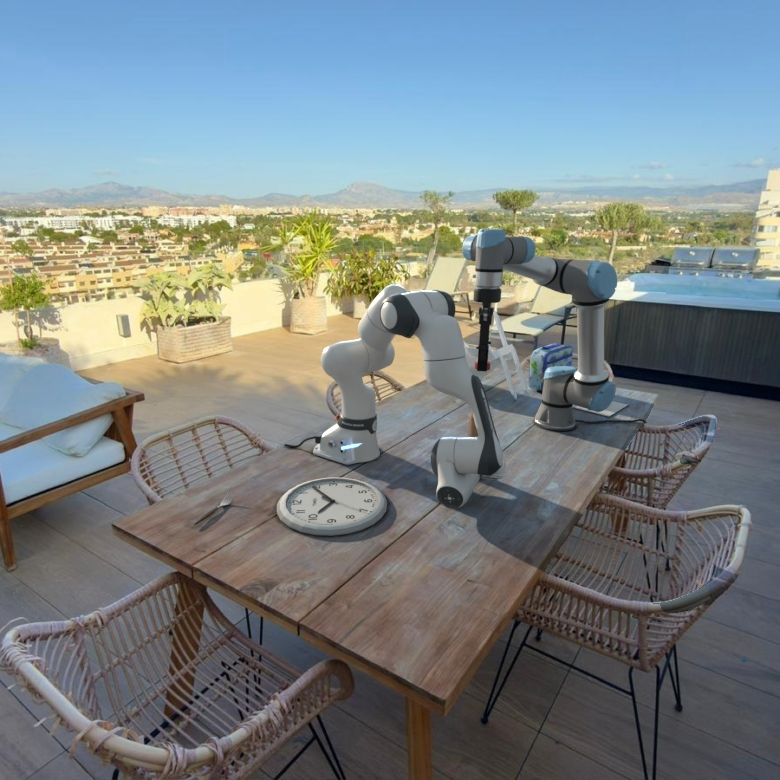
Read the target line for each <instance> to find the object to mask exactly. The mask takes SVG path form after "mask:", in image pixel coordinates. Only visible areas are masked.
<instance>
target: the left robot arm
mask: <svg viewBox="0 0 780 780" xmlns="http://www.w3.org/2000/svg"><path fill="white" fill-rule="evenodd" d="M455 303H456V302H455V300H454V298H453V297H452V295H451V294H450V293H448V292H447V291H444V290H439V289H432V290H427V289H426V290H425V289H424V290H422V289H421V290H414V291H409V290H408V289H407V288H405V287H403V286H402V285H399V284H389V285H386V286H385V287H384V288H383V289H381V291H380V292H379V293H378V294H377V295H376V297H375V298H374V299H373V300H372V301H371V303H370V304H369V306H368V307H367V309H366V311H365V312H364V314H363V315H362V317H361V319H360V321H359V322H358V325H357V332H358V336H359V338H356V339H351V340H343V341H338V342H335V343H332V344H330V345H327V346H325V347H324V348H323V350H322V352H321V355H320V364H321V368H322V370H323V372H324V373H325V374H326V375H327V376H329V377H330V378H332V379H333V381H335V383H336V384H337V386H338V388H339V392H340V398H341V399H340V400H341V401H340V402H341V410H340V412H339V413H337V415H336V416H335V417H334V421H337V422H336V423H334V424H333V425H331V426H330V427H328V428H327V429H326V430H325V431H324V430H323V431H322V430H320V431H318V432H317V434H316V435H313V436H309V437H306V438H304V439H303V440H302V441H301V442H299V444H296V445H293V444H287V443H284V447H288V448H293V449H294V448H295V449H296V448H300V447H301V446H302V445H303V444H304V443H305V442H308V441H310V440H315V441H314V443H315V444H316V445H315V446H314V447H313V450H312V453H313V456H316V457H317V456H318V457H321V458H324V459H327V460H331V461H333V462H337V463H339V464H343V465H347V466H349V465H354V464H357V463H359V464H360V463H367V462H371V461H374V460H376V459H378V458H379V457H380V455H381V451H380V448H379V444H378V436H377V430H378V414H377V411H376V409H377V407H376V405H377V403H376V401H377V400H376V399H377V398H376V397H377V395H376V391H375V390H374V389H373V387H371V386H370V385H369V384H367V383H366V382H365V383H364V380H363V374H368V373H373V372H379V371H381V370H383V369H386V368H388V367H390V366H391V365H392V364H393V362H394V360H395V357H396V356H395V355H396V352H395V351H396V350H395V347H394V344H393V343H392V341H393V340H394V339H395V337H396V336H400V337H404V338H406V339H411V338H412V337H413V336H414V337H416V338H418V340H419V341H420V345H421V353H422V355H421V356H422V365H423V372H424V376H425V380H426V381H427V383H428V384H429V385H430V386H431V387H432V388H433V389H435V390H437V391H438V392H440V393H443V394H446V395H449V396H452V397H455V398H456V399H459V400H461V401H463V402H464V403H466V404H467V405H468V406H469V408H470V410H471V411H472V414H473V417H474V421H475V425H476V428H477V432H478V437H469V436H441V437H440V438H439V439H437V440H436V441H435V443H434V445H433V447H432V448H431V451H430V465H431V469H432V472H433V474H434V475H435V478H436V479H437V486H436V494H435V495H436V499H437V501H438V502H439V503H440V504H441V505H442V506H444V507H446V508H449V509H459V508H461V507H463V506H464V505H465V504H466V503H467V502H468V501H469V499H470V497H471V496H472V494H473V492H474V489H475V488H476V487H477V485H478V483H479V481H480V480H481V479H483V480H489V481H499V480H501V479H503V477H504V474H505V472H506V465H507V463H506V461H504V452H503V448H502V445H501V443H500V439H499V437H498V433H497V431H496V428H495V424H494V420H493V417H492V414H491V413H492V412H491V409H490V406H489V402H488V401H489V400H488V398H487V393H486V392H485V389H484V385H483V383H482V381H481V380H480V379H479V377H477V376H475V375H473V374H472V372H471V371H470V369H469V367H468V365H467V362H466V357H465V348H464V342H465V341H464V342H463V340H464V338H463V334H462V329H461V326H460V324H459V323H460V322H459V321H458V320H457V318H455V317H456V304H455Z"/></svg>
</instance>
